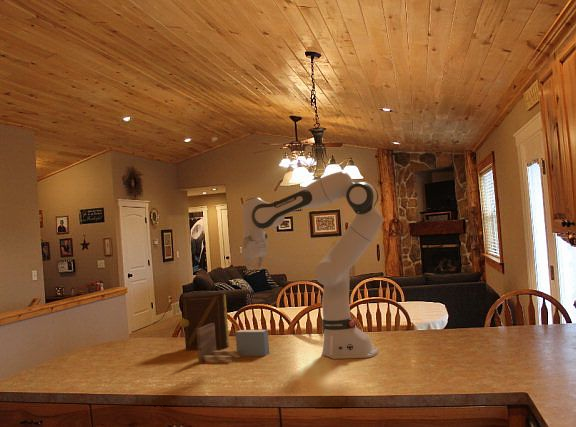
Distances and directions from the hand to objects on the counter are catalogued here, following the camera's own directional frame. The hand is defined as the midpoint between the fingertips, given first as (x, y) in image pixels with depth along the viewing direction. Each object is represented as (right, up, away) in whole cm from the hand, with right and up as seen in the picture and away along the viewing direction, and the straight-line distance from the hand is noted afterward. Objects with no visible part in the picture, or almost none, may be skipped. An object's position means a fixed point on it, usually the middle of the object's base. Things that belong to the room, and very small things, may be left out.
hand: (255, 268), depth 228 cm
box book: (-1, -37, -1) cm, 37 cm away
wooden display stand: (-13, -37, -7) cm, 40 cm away
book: (-24, -39, +19) cm, 50 cm away
